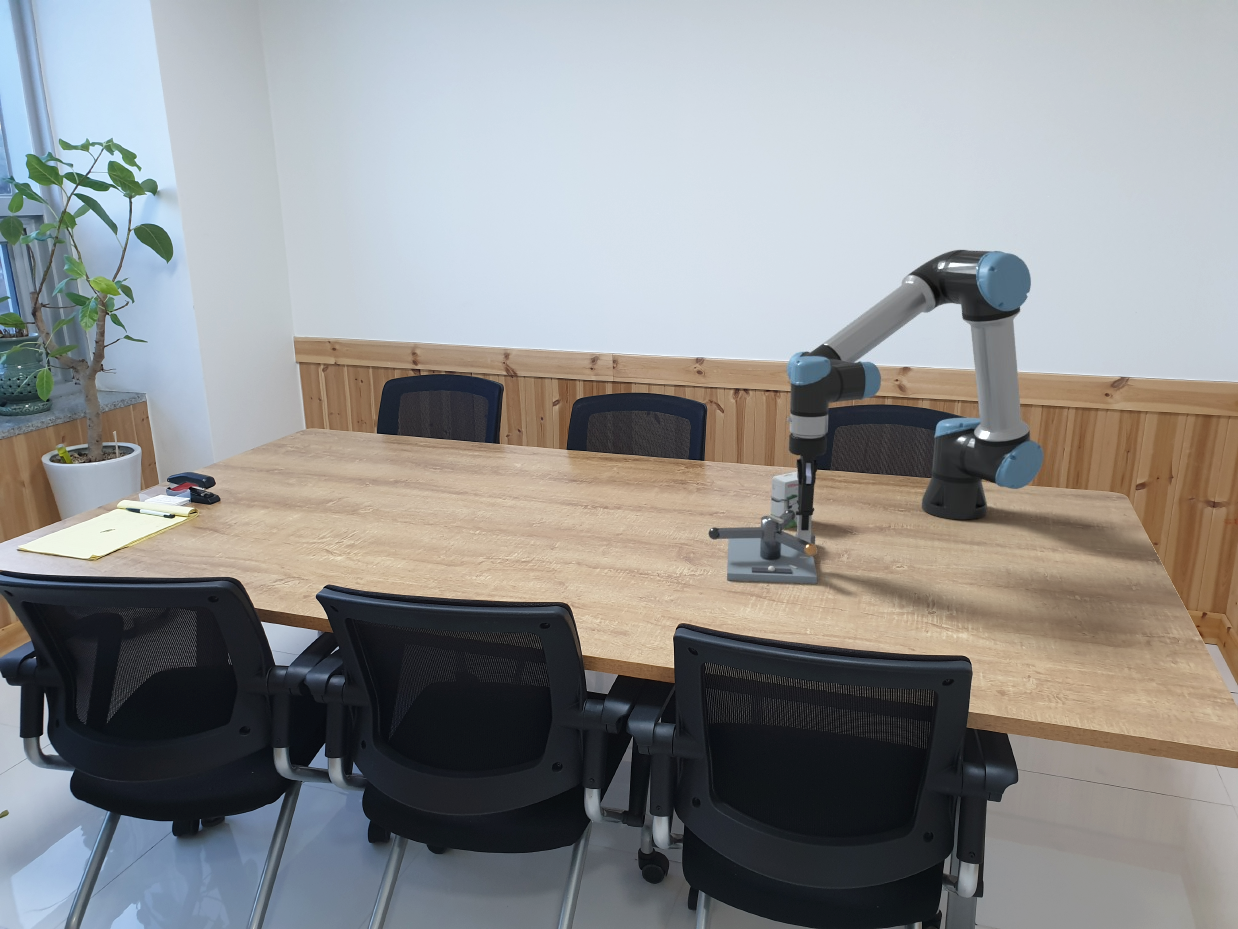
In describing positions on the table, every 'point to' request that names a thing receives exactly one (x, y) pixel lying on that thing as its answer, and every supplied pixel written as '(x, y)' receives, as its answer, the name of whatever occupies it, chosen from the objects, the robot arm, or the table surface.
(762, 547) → the capstan
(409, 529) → the table surface
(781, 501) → the ink box
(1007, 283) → the robot arm
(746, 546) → the stand
